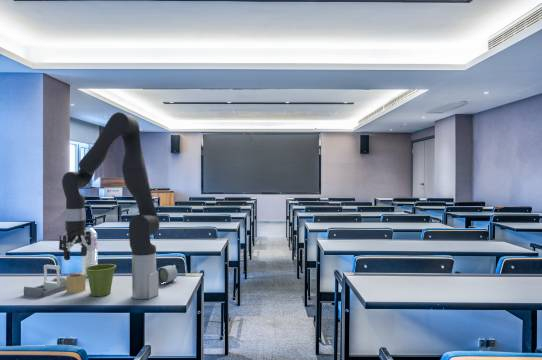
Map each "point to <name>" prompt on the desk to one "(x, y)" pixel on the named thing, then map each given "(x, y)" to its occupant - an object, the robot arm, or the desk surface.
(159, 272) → the ceramic mug
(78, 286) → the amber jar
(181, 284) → the desk surface
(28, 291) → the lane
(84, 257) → the water bottle
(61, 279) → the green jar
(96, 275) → the plant pot
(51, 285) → the grey arch gate
